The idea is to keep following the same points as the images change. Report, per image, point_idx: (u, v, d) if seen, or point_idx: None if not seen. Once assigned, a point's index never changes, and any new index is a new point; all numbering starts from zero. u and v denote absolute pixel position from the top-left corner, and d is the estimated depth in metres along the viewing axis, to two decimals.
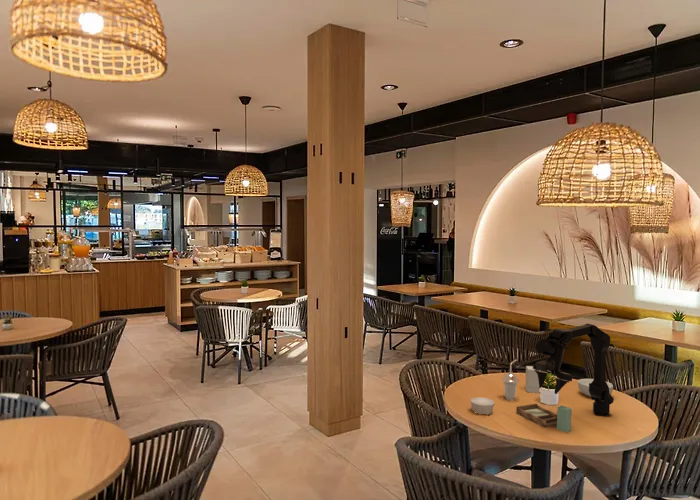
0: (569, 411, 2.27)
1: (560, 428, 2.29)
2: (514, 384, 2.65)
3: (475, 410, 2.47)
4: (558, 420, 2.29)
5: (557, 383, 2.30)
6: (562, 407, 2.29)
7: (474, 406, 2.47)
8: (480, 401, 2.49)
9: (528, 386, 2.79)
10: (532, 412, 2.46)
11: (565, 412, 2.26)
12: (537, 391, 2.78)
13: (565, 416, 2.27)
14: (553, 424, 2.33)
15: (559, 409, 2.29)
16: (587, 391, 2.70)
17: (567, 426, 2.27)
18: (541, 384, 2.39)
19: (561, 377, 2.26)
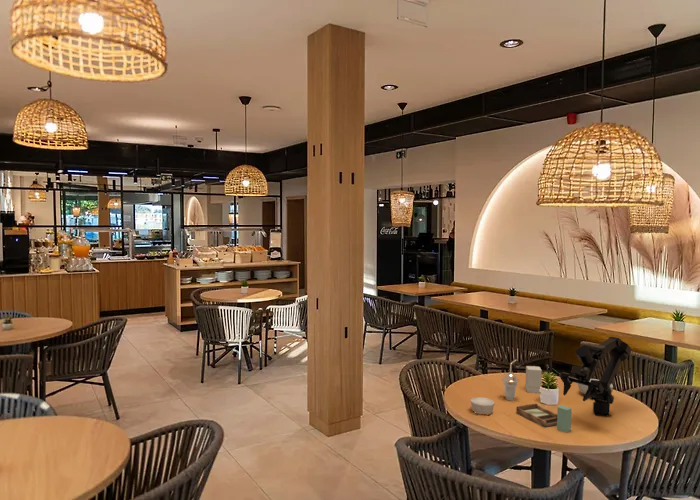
0: (569, 411, 2.27)
1: (560, 428, 2.29)
2: (514, 384, 2.65)
3: (475, 410, 2.47)
4: (558, 420, 2.29)
5: (588, 390, 2.30)
6: (562, 407, 2.29)
7: (474, 406, 2.47)
8: (480, 401, 2.49)
9: (528, 386, 2.79)
10: (532, 412, 2.46)
11: (565, 412, 2.27)
12: (537, 391, 2.78)
13: (565, 416, 2.27)
14: (553, 424, 2.33)
15: (559, 409, 2.29)
16: None
17: (567, 426, 2.27)
18: (565, 392, 2.37)
19: (596, 384, 2.28)
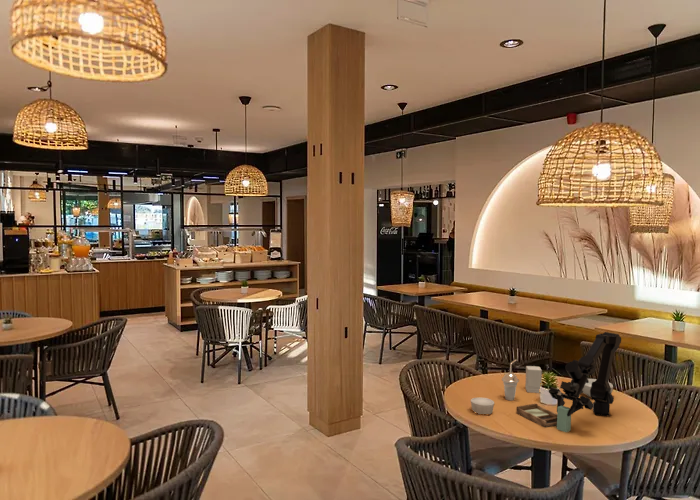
0: None
1: (560, 428, 2.29)
2: (514, 384, 2.65)
3: (475, 410, 2.47)
4: (558, 420, 2.29)
5: (572, 405, 2.27)
6: (562, 407, 2.29)
7: (474, 406, 2.47)
8: (480, 401, 2.49)
9: (528, 386, 2.79)
10: (532, 412, 2.46)
11: (565, 412, 2.26)
12: (537, 391, 2.78)
13: (565, 416, 2.27)
14: (553, 424, 2.33)
15: (559, 409, 2.29)
16: (587, 391, 2.70)
17: (567, 426, 2.27)
18: None
19: (586, 400, 2.23)
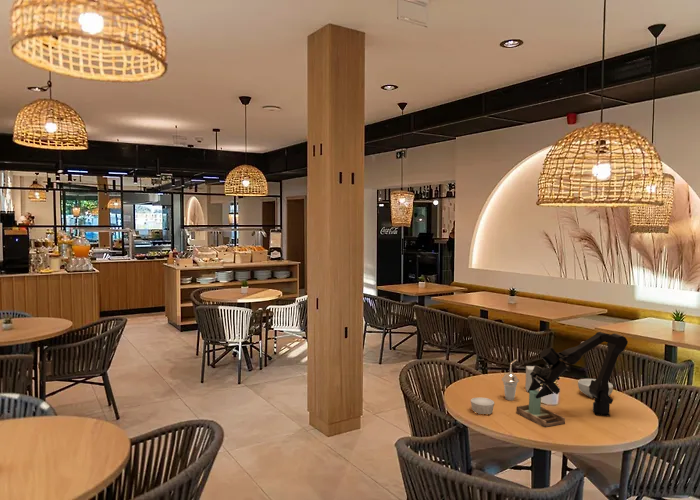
0: None
1: (530, 410, 2.46)
2: (514, 384, 2.65)
3: (475, 410, 2.47)
4: (529, 403, 2.47)
5: (541, 389, 2.41)
6: (533, 391, 2.46)
7: (474, 406, 2.47)
8: (480, 401, 2.49)
9: (528, 386, 2.79)
10: None
11: (533, 395, 2.43)
12: None
13: (533, 399, 2.43)
14: (553, 424, 2.33)
15: (530, 392, 2.46)
16: (587, 391, 2.70)
17: (534, 409, 2.43)
18: (530, 390, 2.49)
19: (549, 384, 2.37)
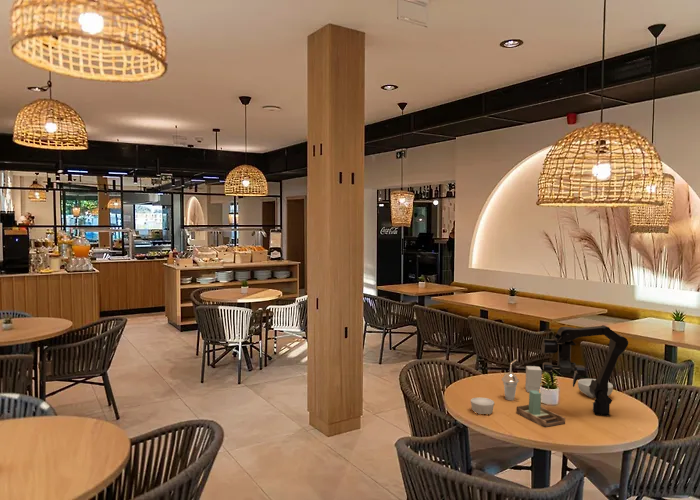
0: (537, 395, 2.43)
1: (530, 410, 2.46)
2: (514, 384, 2.65)
3: (475, 410, 2.47)
4: (529, 403, 2.47)
5: (576, 378, 2.47)
6: (533, 391, 2.46)
7: (474, 406, 2.47)
8: (480, 401, 2.49)
9: (528, 386, 2.79)
10: None
11: (533, 395, 2.43)
12: None
13: (533, 399, 2.43)
14: (553, 424, 2.33)
15: (530, 392, 2.46)
16: (587, 391, 2.70)
17: (534, 409, 2.43)
18: None
19: (583, 372, 2.44)
